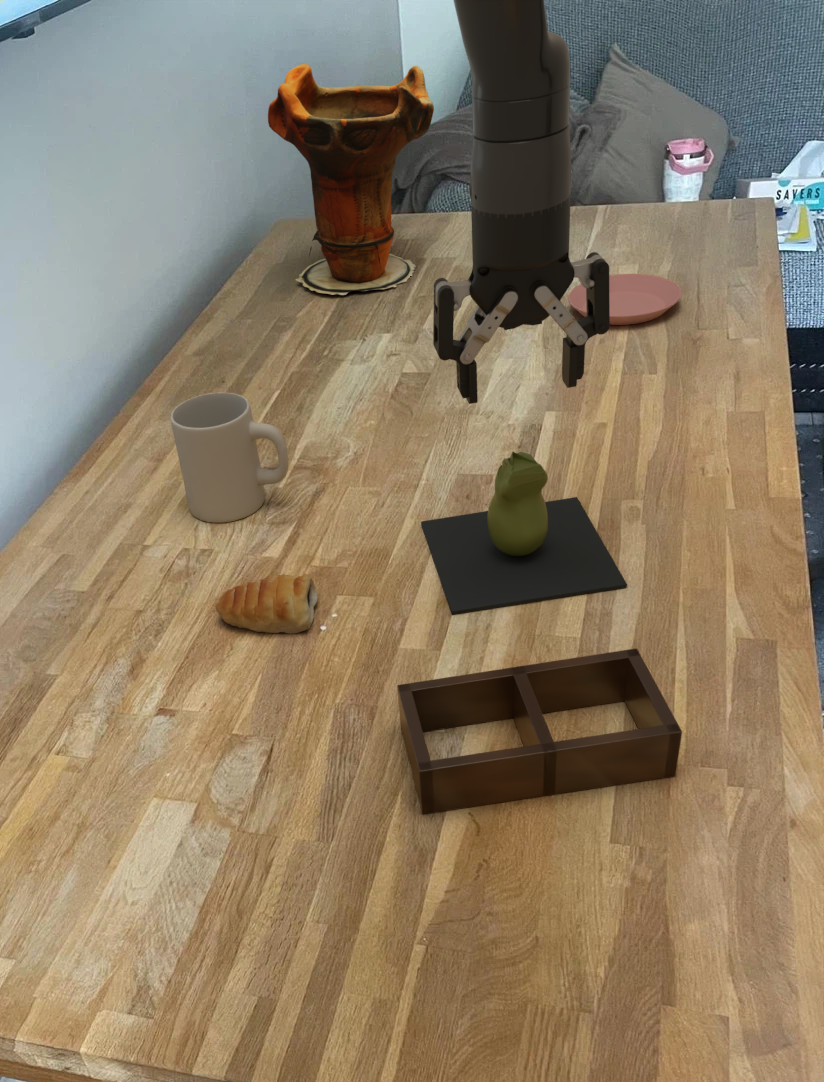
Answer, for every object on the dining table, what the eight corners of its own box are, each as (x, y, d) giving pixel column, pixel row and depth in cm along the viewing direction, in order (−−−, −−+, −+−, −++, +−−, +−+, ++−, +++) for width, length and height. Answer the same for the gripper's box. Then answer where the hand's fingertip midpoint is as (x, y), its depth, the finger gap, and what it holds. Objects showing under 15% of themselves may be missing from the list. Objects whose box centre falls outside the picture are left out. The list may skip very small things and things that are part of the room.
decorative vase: (444, 290, 158) (437, 70, 139) (286, 309, 160) (259, 96, 142) (433, 242, 173) (426, 39, 155) (289, 260, 176) (265, 62, 157)
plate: (544, 312, 147) (545, 298, 146) (621, 280, 152) (622, 265, 151) (625, 340, 137) (626, 325, 136) (704, 304, 142) (706, 289, 141)
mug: (178, 522, 118) (157, 429, 111) (203, 482, 124) (185, 391, 117) (284, 526, 115) (269, 430, 108) (304, 484, 121) (292, 391, 114)
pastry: (214, 638, 101) (206, 605, 99) (225, 597, 106) (218, 564, 104) (314, 635, 100) (309, 600, 97) (320, 592, 105) (315, 559, 102)
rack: (632, 691, 89) (637, 647, 86) (676, 776, 81) (682, 731, 78) (400, 727, 89) (397, 684, 86) (422, 814, 81) (419, 771, 78)
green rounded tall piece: (530, 530, 107) (531, 437, 101) (558, 555, 103) (562, 460, 97) (479, 546, 106) (477, 453, 100) (505, 572, 102) (505, 478, 96)
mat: (576, 500, 111) (577, 496, 111) (626, 587, 99) (627, 584, 99) (421, 524, 112) (420, 521, 111) (451, 614, 99) (451, 611, 99)
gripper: (437, 224, 81) (447, 424, 92) (628, 191, 81) (615, 396, 91) (420, 195, 87) (431, 387, 98) (598, 164, 87) (589, 361, 97)
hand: (520, 391), depth 94 cm, fingers open, 8 cm apart
